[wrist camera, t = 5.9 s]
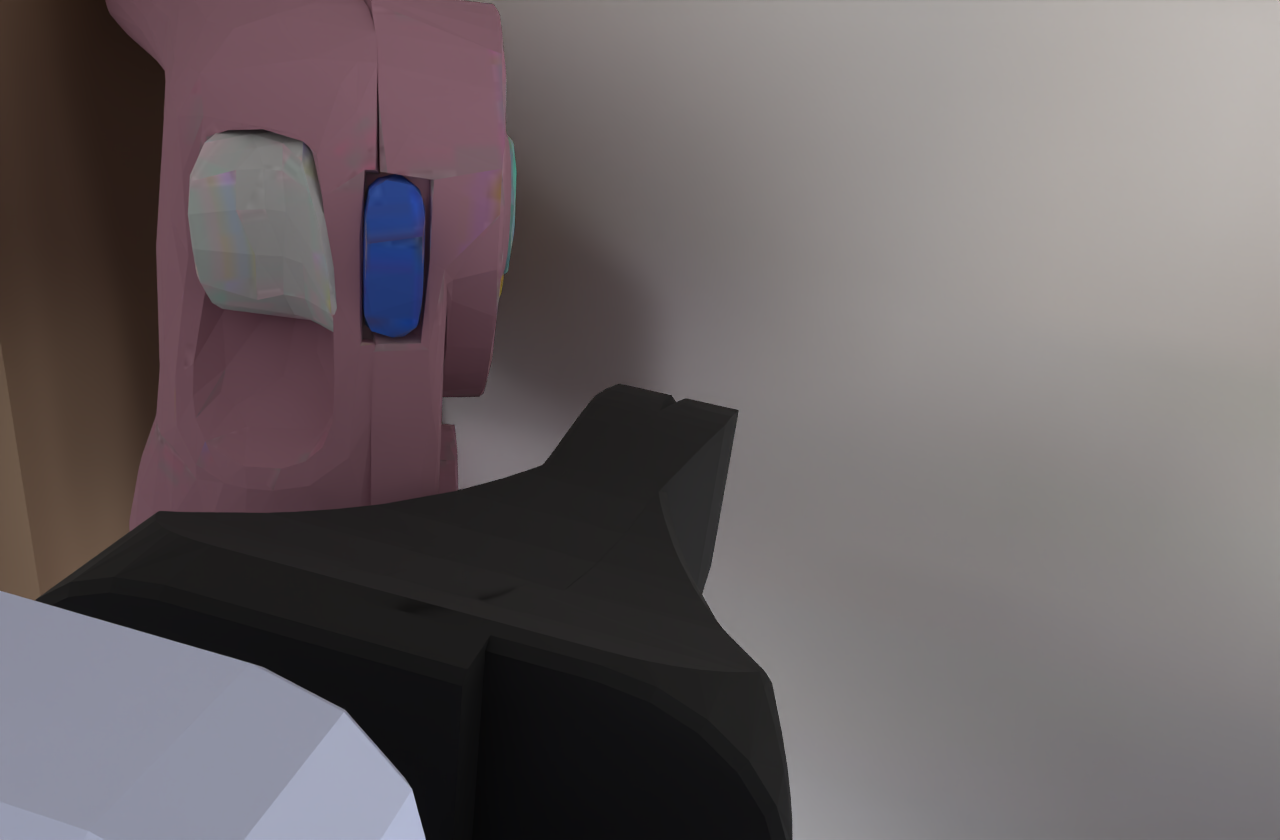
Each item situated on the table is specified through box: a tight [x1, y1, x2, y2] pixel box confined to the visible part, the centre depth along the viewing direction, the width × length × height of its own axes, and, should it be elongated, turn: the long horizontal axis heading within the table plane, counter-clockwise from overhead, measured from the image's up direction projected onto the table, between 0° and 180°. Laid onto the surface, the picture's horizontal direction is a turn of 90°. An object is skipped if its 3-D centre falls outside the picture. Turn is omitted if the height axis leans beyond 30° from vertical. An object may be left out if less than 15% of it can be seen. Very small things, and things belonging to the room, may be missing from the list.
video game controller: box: [105, 0, 517, 532], centre depth 11 cm, size 10×5×7 cm, turn 173°
